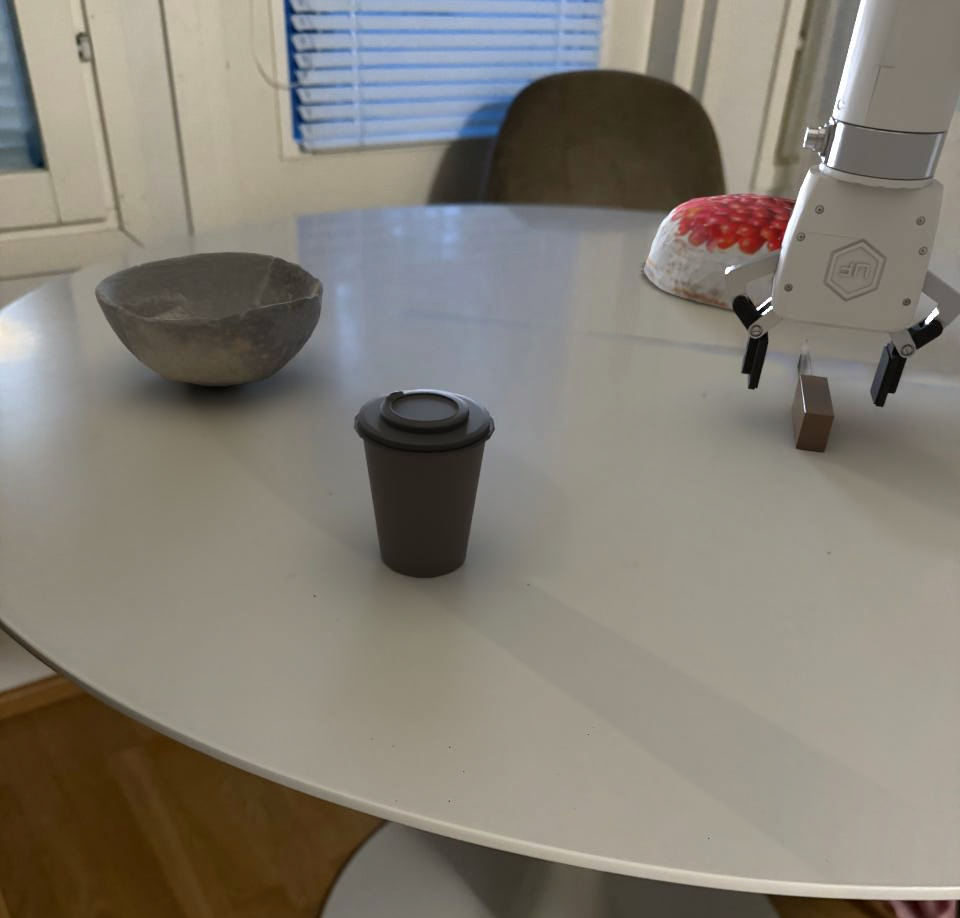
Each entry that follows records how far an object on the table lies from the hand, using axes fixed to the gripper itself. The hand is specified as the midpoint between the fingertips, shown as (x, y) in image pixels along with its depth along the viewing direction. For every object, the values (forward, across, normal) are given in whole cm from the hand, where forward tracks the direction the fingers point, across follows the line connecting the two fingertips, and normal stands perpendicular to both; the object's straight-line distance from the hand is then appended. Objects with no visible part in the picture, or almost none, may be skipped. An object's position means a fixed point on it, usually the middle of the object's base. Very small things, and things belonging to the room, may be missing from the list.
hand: (813, 391), depth 76 cm
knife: (+3, 0, +4) cm, 5 cm away
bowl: (+4, -49, -4) cm, 49 cm away
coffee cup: (+4, -25, -27) cm, 37 cm away
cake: (+3, -4, +35) cm, 35 cm away
